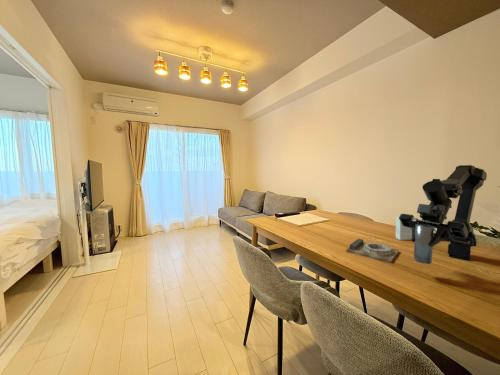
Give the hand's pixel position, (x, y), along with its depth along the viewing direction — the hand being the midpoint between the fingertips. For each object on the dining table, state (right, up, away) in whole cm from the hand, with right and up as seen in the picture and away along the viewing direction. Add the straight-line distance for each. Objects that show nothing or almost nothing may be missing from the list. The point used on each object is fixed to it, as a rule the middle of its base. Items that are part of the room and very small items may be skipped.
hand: (421, 243), depth 73 cm
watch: (+43, -9, +39) cm, 59 cm away
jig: (-3, -11, +25) cm, 27 cm away
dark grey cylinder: (+1, -7, +1) cm, 7 cm away
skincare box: (+24, -9, +41) cm, 48 cm away
